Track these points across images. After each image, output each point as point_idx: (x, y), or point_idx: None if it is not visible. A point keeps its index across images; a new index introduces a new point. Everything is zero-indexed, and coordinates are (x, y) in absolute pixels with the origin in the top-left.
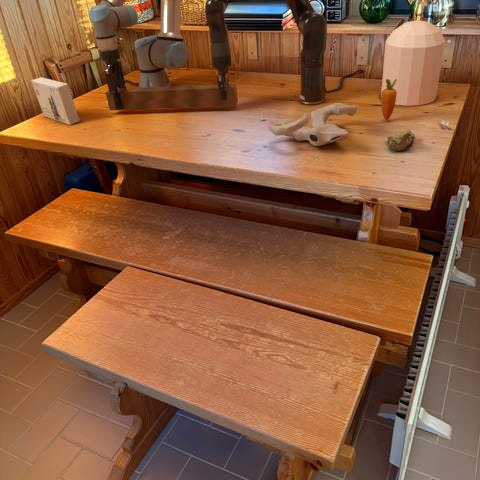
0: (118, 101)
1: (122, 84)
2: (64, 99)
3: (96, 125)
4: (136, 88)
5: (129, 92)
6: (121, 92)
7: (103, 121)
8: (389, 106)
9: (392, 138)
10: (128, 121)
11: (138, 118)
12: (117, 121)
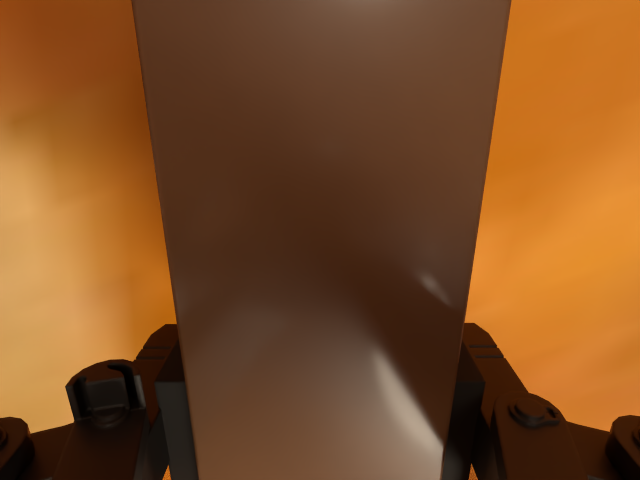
0: (465, 325)
1: (128, 477)
2: None
3: (608, 385)
4: (211, 24)
5: (481, 156)
6: (456, 348)
7: (522, 363)
8: None
9: None
10: (600, 110)
11: (532, 10)
12: (561, 235)
